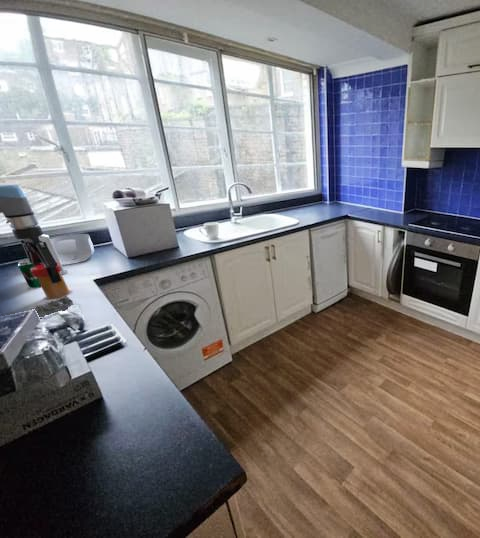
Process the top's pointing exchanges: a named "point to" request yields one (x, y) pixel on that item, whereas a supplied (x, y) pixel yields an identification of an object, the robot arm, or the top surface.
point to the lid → (42, 270)
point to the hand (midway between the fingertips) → (51, 280)
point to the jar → (53, 287)
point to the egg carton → (53, 306)
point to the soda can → (28, 274)
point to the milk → (51, 250)
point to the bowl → (73, 248)
